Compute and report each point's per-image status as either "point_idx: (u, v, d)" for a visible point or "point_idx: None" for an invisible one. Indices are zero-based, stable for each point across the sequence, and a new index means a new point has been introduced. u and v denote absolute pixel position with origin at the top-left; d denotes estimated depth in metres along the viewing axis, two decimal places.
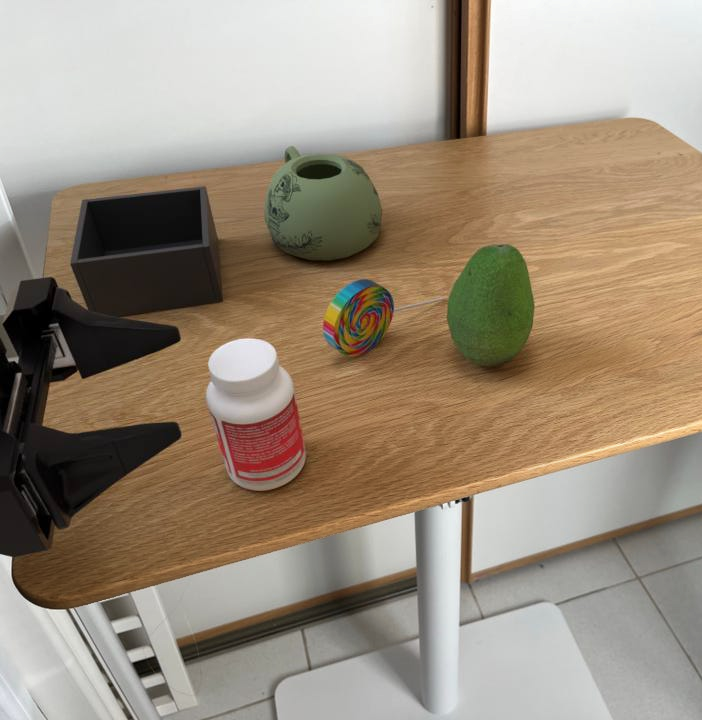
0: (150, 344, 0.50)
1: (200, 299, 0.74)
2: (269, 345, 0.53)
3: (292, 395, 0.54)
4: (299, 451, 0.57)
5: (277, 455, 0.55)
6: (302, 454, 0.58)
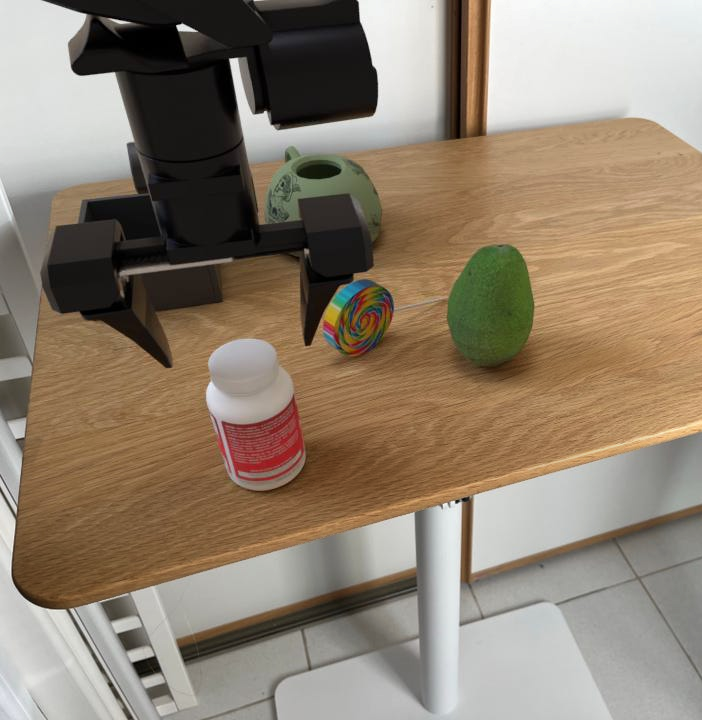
0: (165, 345, 0.49)
1: (200, 299, 0.74)
2: (269, 345, 0.53)
3: (292, 395, 0.54)
4: (299, 451, 0.57)
5: (277, 455, 0.55)
6: (302, 454, 0.58)
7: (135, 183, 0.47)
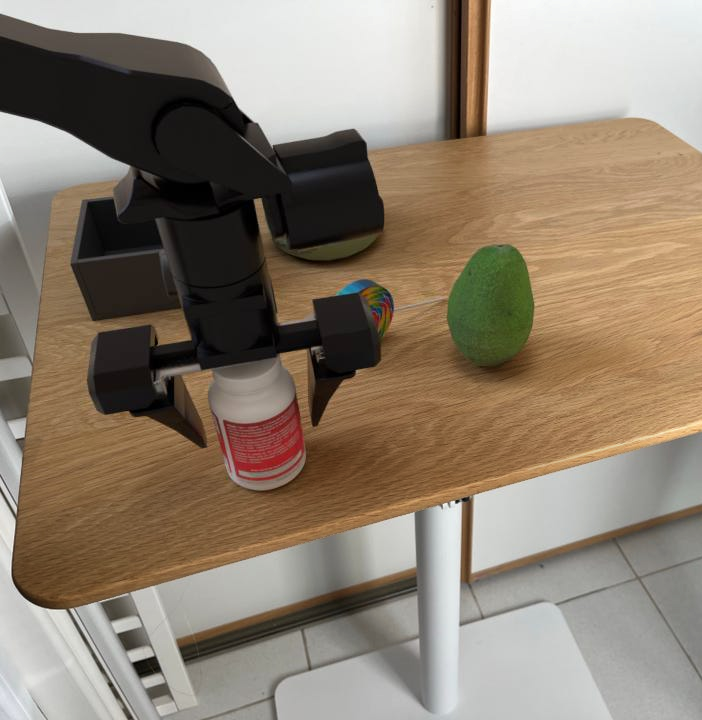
0: (200, 429, 0.55)
1: None
2: None
3: (294, 395, 0.54)
4: (299, 451, 0.57)
5: (278, 455, 0.55)
6: (302, 454, 0.58)
7: (167, 289, 0.52)
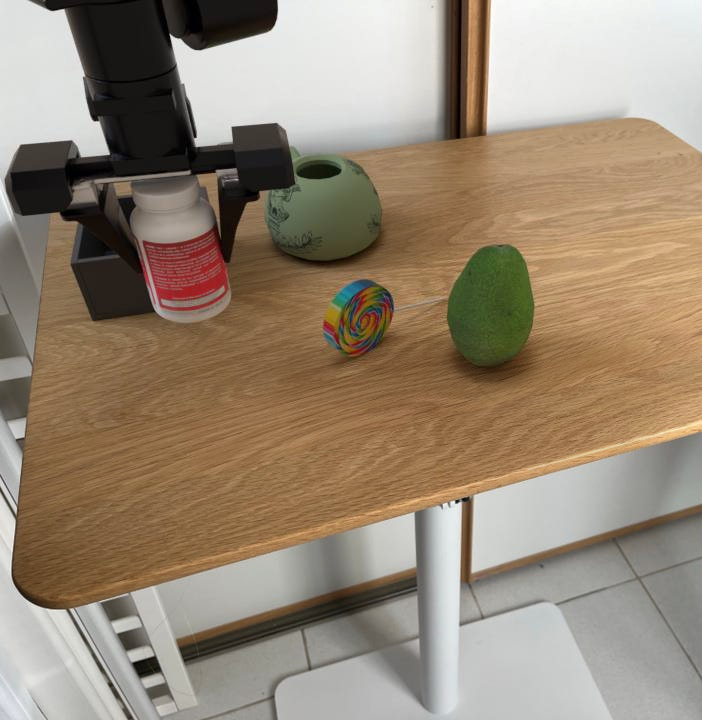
0: (135, 252, 0.57)
1: None
2: None
3: (213, 224, 0.57)
4: (222, 286, 0.59)
5: (198, 283, 0.57)
6: (226, 292, 0.60)
7: (90, 111, 0.54)
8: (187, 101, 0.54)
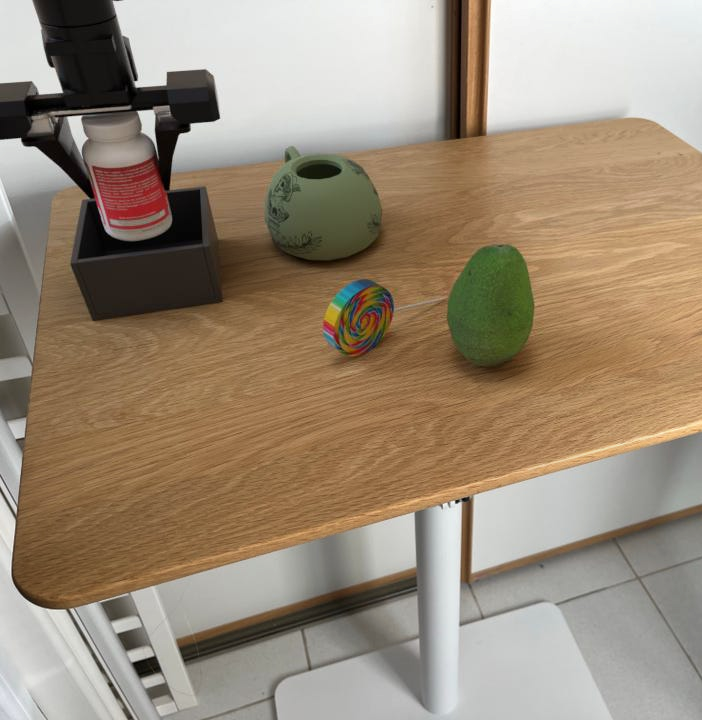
0: (87, 179, 0.68)
1: (200, 299, 0.74)
2: None
3: (153, 154, 0.67)
4: (163, 210, 0.70)
5: (141, 205, 0.68)
6: (166, 215, 0.71)
7: (47, 58, 0.65)
8: (128, 49, 0.65)
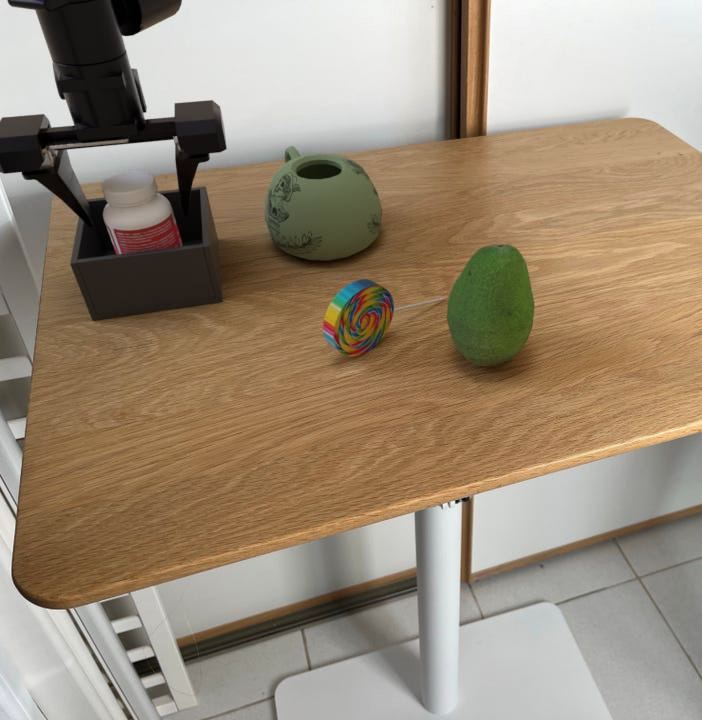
0: (87, 208, 0.69)
1: (200, 299, 0.74)
2: (149, 174, 0.71)
3: (169, 214, 0.72)
4: None
5: None
6: None
7: (58, 91, 0.67)
8: (137, 82, 0.66)
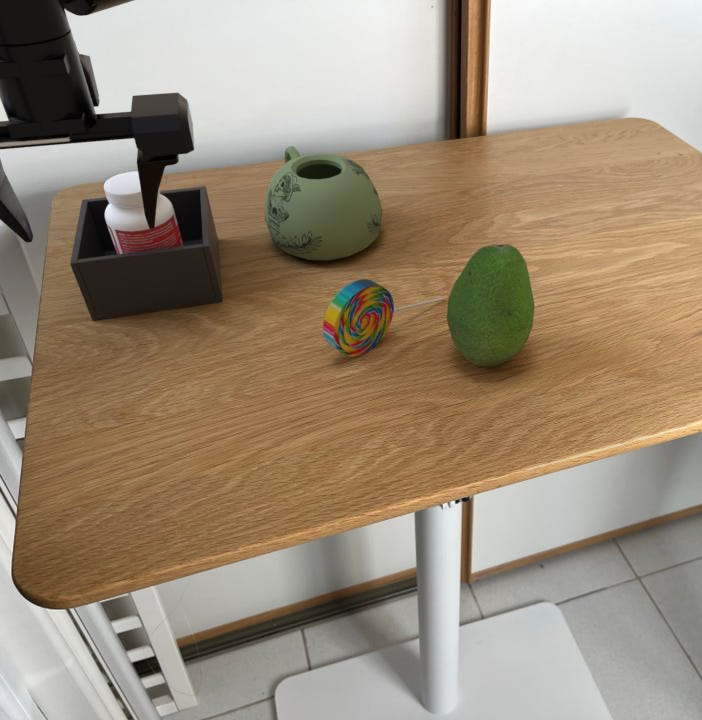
0: (22, 220, 0.58)
1: (200, 299, 0.74)
2: None
3: (171, 215, 0.72)
4: None
5: None
6: None
7: None
8: (87, 70, 0.56)
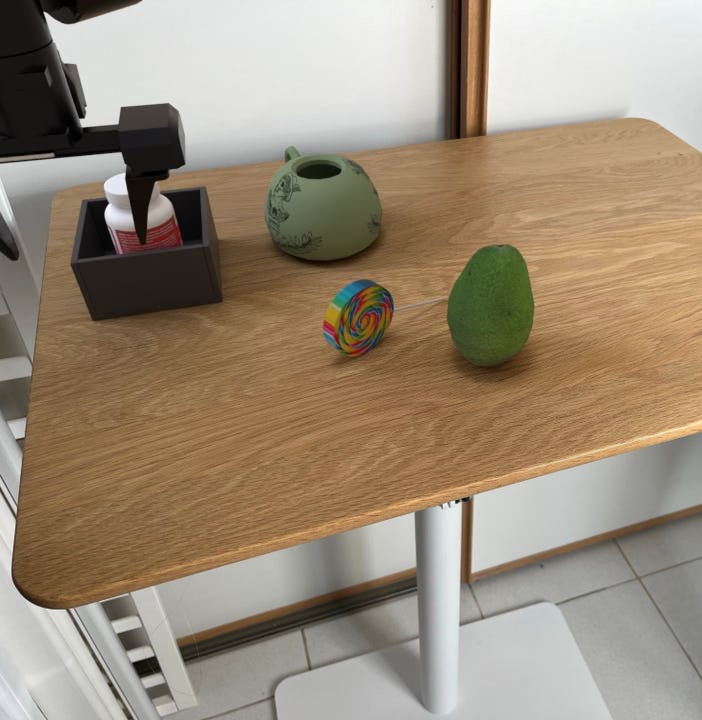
0: (7, 238, 0.56)
1: (200, 299, 0.74)
2: None
3: (171, 215, 0.72)
4: None
5: None
6: None
7: None
8: (72, 80, 0.53)
